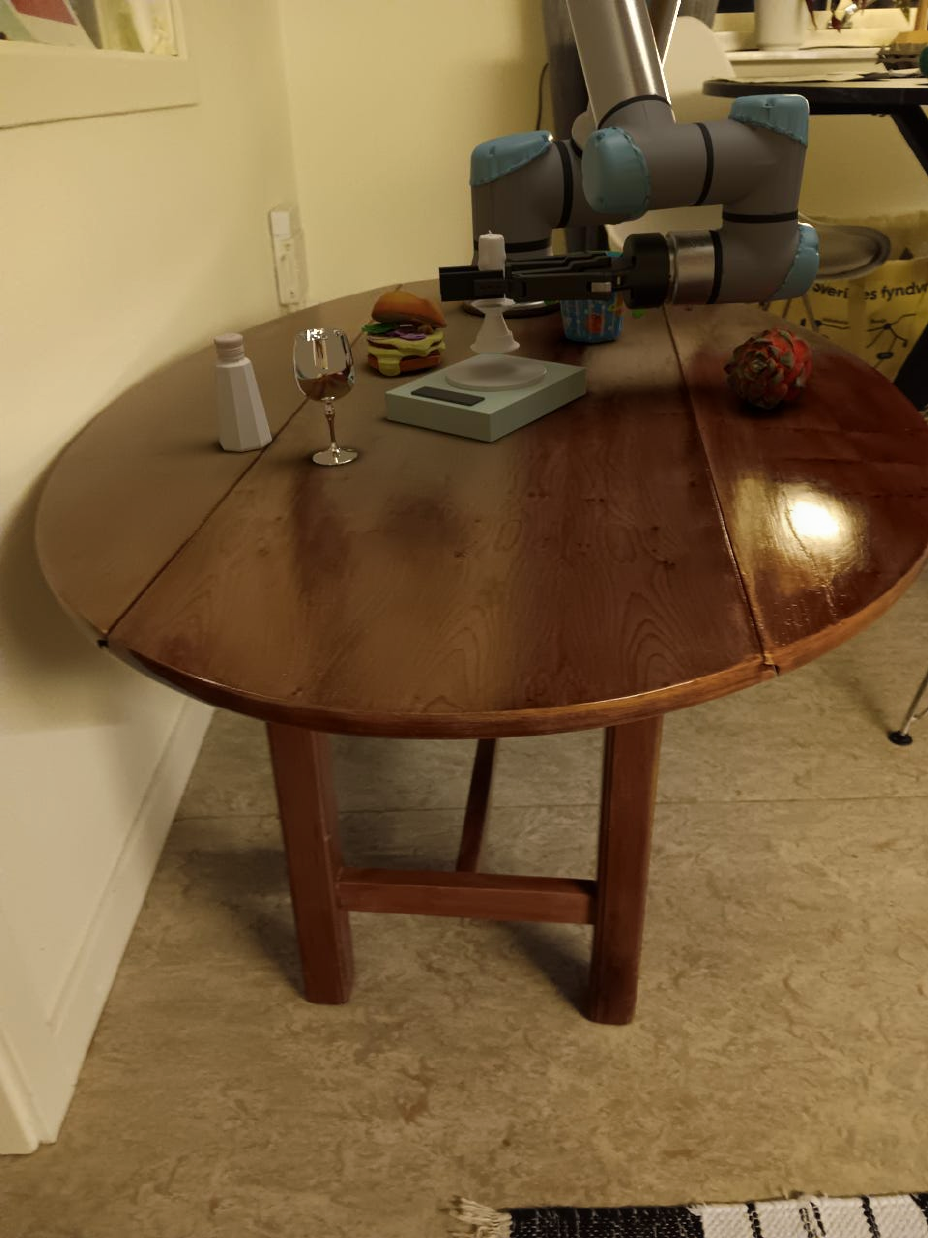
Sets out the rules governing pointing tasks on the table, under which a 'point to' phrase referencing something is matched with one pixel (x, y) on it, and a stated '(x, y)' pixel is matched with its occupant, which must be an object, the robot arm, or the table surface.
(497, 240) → the candle
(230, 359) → the pepper shaker
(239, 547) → the table surface
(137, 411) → the table surface
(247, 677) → the table surface
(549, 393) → the kitchen scale
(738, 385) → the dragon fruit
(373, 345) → the cheeseburger
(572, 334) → the snack cup
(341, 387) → the wineglass
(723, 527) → the table surface
